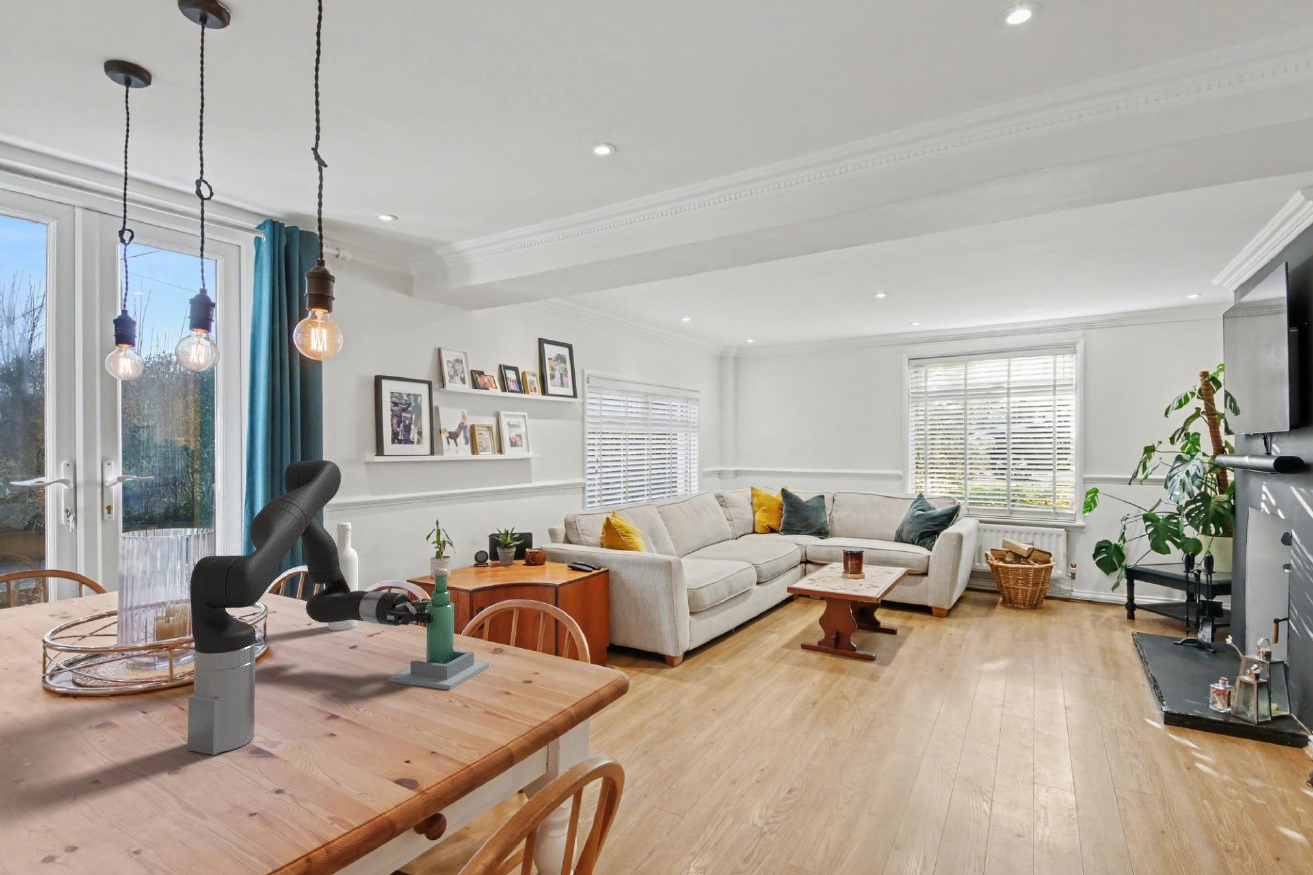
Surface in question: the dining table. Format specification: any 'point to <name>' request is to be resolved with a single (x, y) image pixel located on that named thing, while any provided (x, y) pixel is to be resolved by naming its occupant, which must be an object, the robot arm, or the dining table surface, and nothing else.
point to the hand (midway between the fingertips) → (443, 613)
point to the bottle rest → (441, 671)
